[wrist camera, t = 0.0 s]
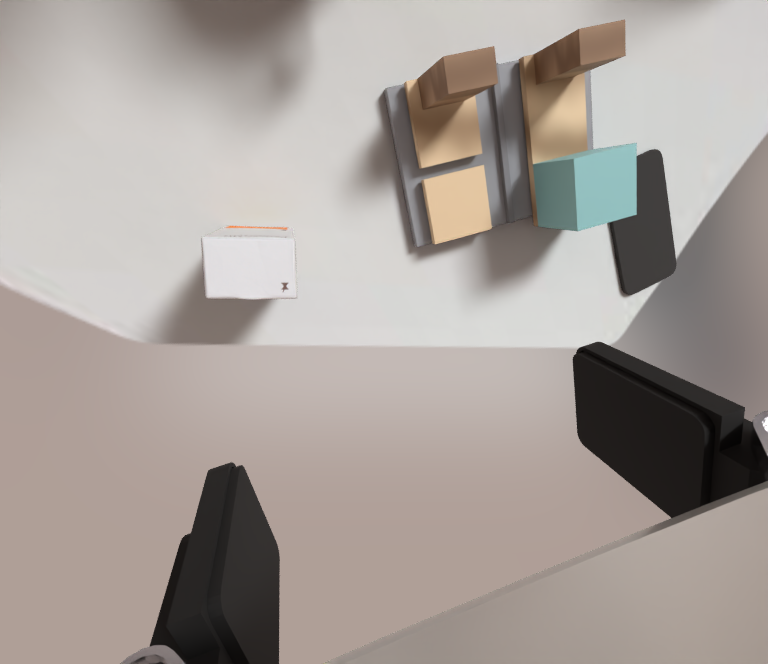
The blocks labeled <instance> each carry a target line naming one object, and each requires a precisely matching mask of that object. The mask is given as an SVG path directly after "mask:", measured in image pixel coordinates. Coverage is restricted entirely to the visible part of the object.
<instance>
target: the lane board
mask: <svg viewBox="0 0 768 664" xmlns="http://www.w3.org/2000/svg"><path fill="white" fill-rule="evenodd" d="M496 67H497V77H498V84H496V85H494V86H492V87H490V88H488V89H486V90H485V91H483V92H481V93H479V94H477V95H475V98H476V106H477V114H478V122H479V130H480V138H481V146H482V154H479V155H474V156H470V157H466V158H462V159H458V160H454V161H450V162H446V163H442V164H437V165H433V166H429V167H425V168H421V169H419V165H418V160H417V154H416V149H415V143H414V138H413V132H412V126H411V121H410V115H409V110H408V104H407V99H406V93H405V88H404V84H403V85H398V86H394V87H389V88H386V89H385V90H384V94H385V99H386V104H387V109H388V114H389V119H390V125H391V130H392V135H393V140H394V145H395V150H396V155H397V160H398V165H399V170H400V175H401V181H402V186H403V191H404V196H405V201H406V206H407V211H408V216H409V221H410V226H411V232H412V237H413V242H414V246H416V247H420V246H423V245H427V244H431V243H433V244H439V243H443V242H446V241H450V240H454V239H457V238H461V237H465V236H468V235H472V234H476V233H479V232H483V231H487V230H490V229H492V227H493V226H497V225H500V224H504V223H512V222H515V220H519V219H523V218H526V217H530V216H533V212H532V201H531V190H530V179H529V168H528V157H527V146H526V134H525V123H524V112H523V101H522V90H521V79H520V68H519V60H517V61H512V62H507V63H503V64H498V63H496ZM584 73H585V97H586V122H587V146H588V150H593V129H592V101H591V74H590V70H589V71H587V72H584Z"/></svg>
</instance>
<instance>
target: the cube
mask: <svg viewBox="0 0 768 664" xmlns="http://www.w3.org/2000/svg"><path fill="white" fill-rule="evenodd" d="M533 172H534V183H535V195H536V207H537V218H538V227H546V228H555V229H563V230H572V231H580V230H584V229H587V228H591V227H594V226H598V225H601V224H605V223H608V222H612V221H616V220H619V219H623V218H626V217H630V216H633V215H637V161H636V143H633V144H626V145H619V146H613V147H606V148H600V149H593V150H587V151H583V152H579V153H575V154H571V155H567V156H563V157H559V158H555V159H551V160H547V161H543V162H539V163H535V164H533Z"/></svg>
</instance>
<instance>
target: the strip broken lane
mask: <svg viewBox="0 0 768 664" xmlns="http://www.w3.org/2000/svg"><path fill="white" fill-rule="evenodd" d="M496 84H498V77H497V67H496V58H495V49H494V46H493V47H488V48H483V49H478V50H473V51H468V52H463V53H459V54H454V55H449V56H444V57H442V58H441V59H440V60H439V61H438V62H436V63H435V64H434V65H433V66H432V67H431V68H430V69H428V70H427V71H426V72H425V73H424V74H423V75H421V76H420V77H419V78H418V79H415V80H410V81H406V82H405V83H404V88H405V93H406V99H407V104H408V110H409V115H410V121H411V126H412V132H413V138H414V143H415V149H416V154H417V160H418V165H419V169H421V168H425V167H429V166H433V165H437V164H442V163H446V162H450V161H454V160H458V159H462V158H466V157H470V156H474V155H479V154H482V146H481V138H480V130H479V122H478V114H477V106H476V98H475V95H477V94H479V93H481V92H483V91H485V90H486V89H488V88H490V87H492V86H494V85H496Z"/></svg>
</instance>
